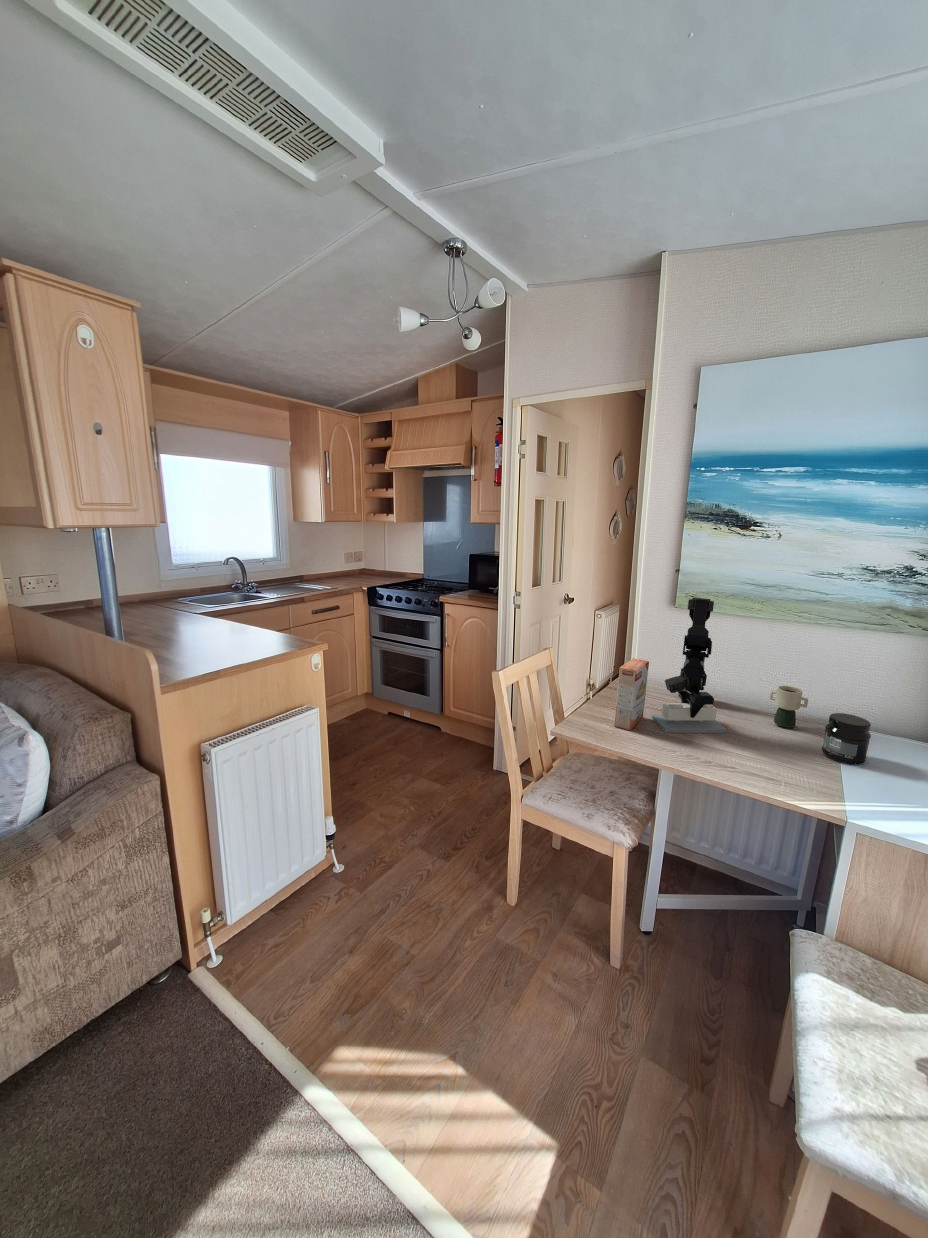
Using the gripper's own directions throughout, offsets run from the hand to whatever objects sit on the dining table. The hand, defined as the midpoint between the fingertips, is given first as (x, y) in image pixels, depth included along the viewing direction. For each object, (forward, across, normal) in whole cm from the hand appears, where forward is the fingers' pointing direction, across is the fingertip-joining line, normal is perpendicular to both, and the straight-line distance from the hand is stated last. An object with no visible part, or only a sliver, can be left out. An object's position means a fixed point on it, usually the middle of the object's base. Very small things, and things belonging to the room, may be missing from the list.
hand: (688, 714), depth 165 cm
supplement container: (+4, +22, +36) cm, 42 cm away
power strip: (+1, 0, 0) cm, 1 cm away
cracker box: (+4, -2, -19) cm, 20 cm away
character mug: (+4, 0, +33) cm, 33 cm away
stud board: (+4, 0, 0) cm, 4 cm away
